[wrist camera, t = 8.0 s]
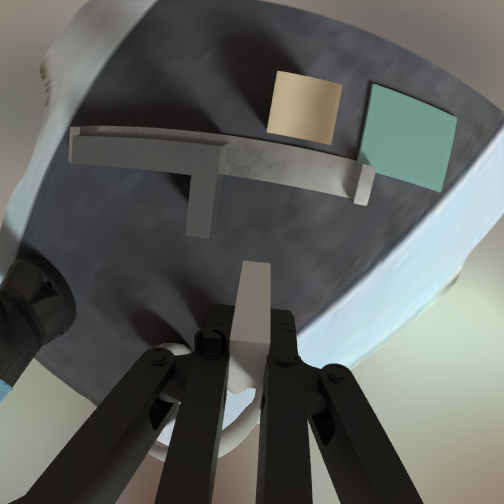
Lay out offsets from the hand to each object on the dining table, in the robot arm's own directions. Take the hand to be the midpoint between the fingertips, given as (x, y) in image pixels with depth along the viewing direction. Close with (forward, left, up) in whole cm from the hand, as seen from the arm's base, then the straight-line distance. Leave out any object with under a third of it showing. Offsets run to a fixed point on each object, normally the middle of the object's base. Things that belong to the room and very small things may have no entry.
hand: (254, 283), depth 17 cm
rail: (-6, +4, -18) cm, 20 cm away
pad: (+16, +11, -18) cm, 27 cm away
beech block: (+2, +10, -18) cm, 21 cm away
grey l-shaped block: (-12, +2, -18) cm, 22 cm away
